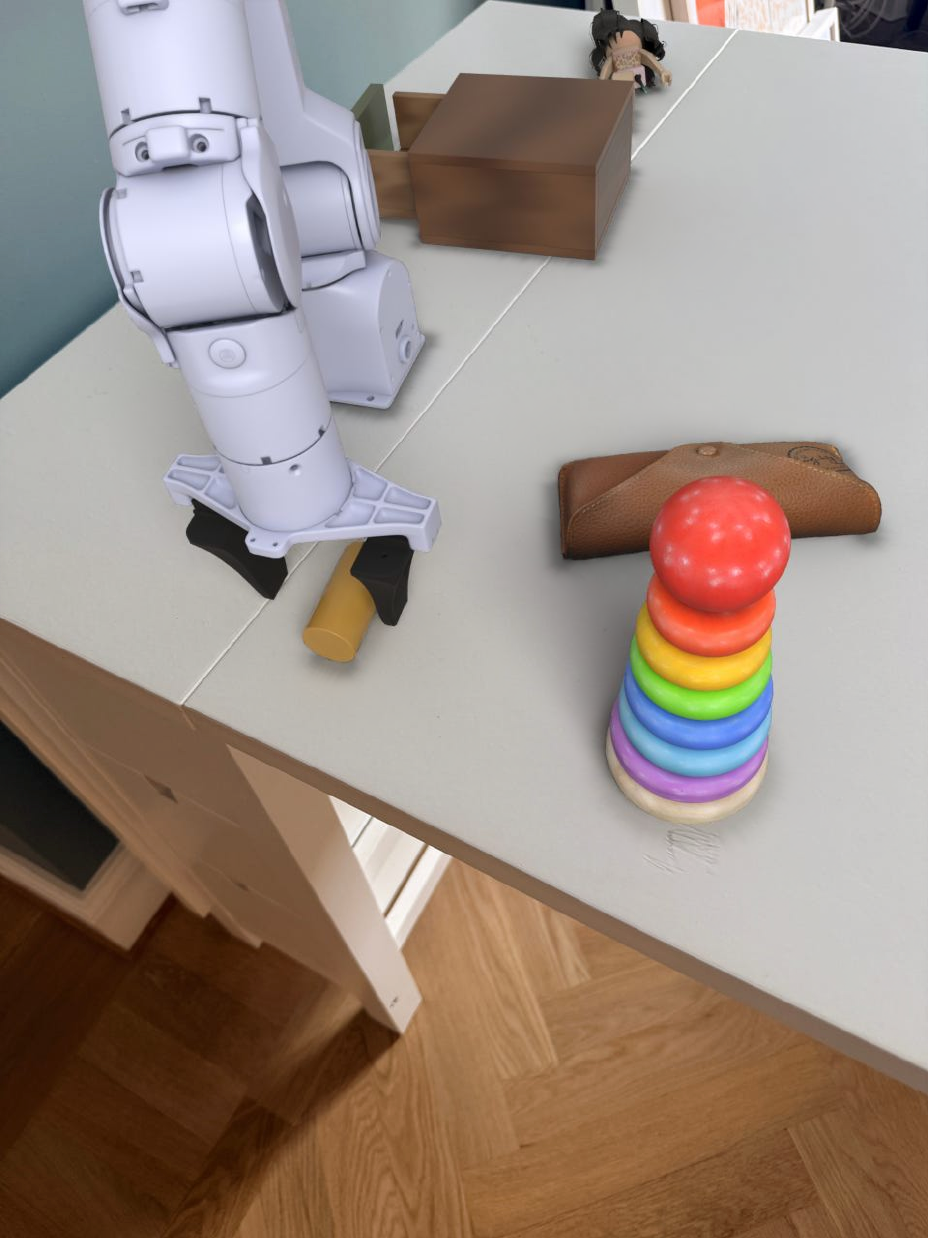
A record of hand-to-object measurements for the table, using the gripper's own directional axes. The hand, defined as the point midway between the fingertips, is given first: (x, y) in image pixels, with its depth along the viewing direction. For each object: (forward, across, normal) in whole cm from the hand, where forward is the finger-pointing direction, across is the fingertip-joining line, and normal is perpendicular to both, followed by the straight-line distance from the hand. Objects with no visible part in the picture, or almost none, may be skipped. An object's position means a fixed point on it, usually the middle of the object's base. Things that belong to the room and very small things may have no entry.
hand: (335, 598), depth 54 cm
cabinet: (+2, -1, +43) cm, 43 cm away
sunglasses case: (+2, +19, +13) cm, 23 cm away
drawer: (+1, -12, +43) cm, 45 cm away
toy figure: (+2, +3, +63) cm, 63 cm away
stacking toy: (+2, +21, -4) cm, 21 cm away
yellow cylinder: (+1, 0, 0) cm, 1 cm away
